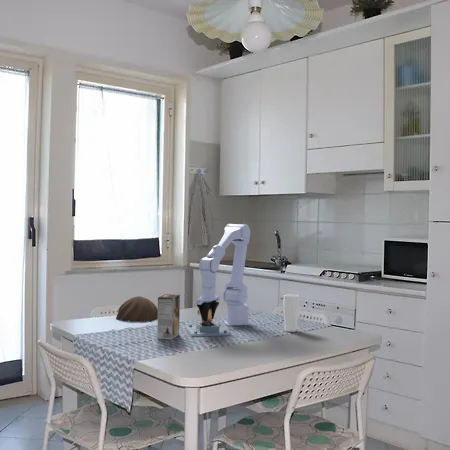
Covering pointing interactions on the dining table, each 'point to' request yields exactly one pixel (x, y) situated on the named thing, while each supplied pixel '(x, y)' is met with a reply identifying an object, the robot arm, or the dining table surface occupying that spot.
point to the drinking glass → (291, 311)
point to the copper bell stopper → (208, 317)
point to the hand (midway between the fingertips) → (207, 320)
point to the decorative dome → (137, 310)
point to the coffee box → (168, 316)
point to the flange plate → (207, 330)
